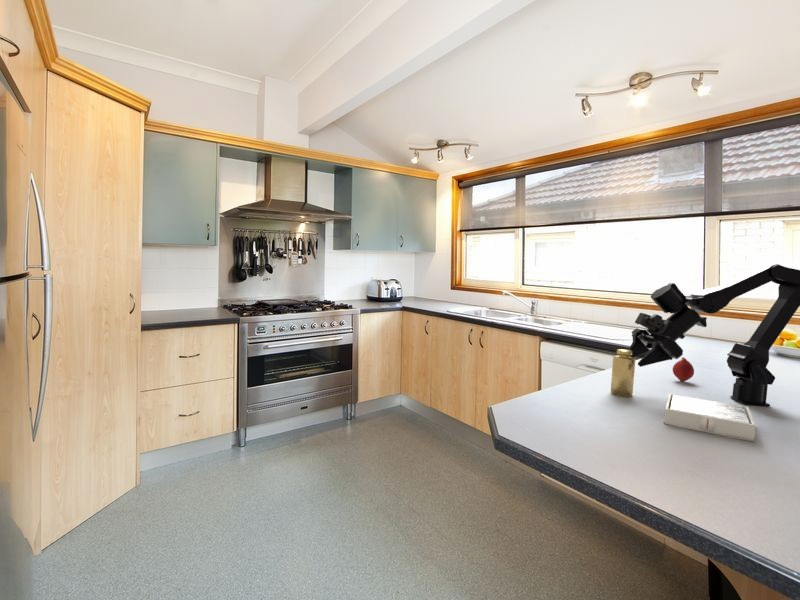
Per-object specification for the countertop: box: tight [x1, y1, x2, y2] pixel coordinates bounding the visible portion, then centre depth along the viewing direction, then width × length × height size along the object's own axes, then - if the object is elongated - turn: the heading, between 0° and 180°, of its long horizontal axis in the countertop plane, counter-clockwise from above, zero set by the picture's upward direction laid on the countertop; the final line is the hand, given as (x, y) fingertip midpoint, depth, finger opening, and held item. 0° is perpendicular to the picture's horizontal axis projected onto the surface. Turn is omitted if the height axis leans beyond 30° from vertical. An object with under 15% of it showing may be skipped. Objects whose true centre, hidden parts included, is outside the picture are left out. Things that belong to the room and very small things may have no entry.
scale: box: [663, 393, 756, 442], centre depth 100 cm, size 16×16×4 cm
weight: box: [610, 348, 636, 398], centre depth 121 cm, size 6×6×12 cm
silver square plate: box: [670, 394, 749, 424], centre depth 100 cm, size 14×14×1 cm
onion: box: [672, 356, 695, 383], centre depth 139 cm, size 6×6×8 cm
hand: (631, 361), depth 121 cm, fingers open, 9 cm apart
